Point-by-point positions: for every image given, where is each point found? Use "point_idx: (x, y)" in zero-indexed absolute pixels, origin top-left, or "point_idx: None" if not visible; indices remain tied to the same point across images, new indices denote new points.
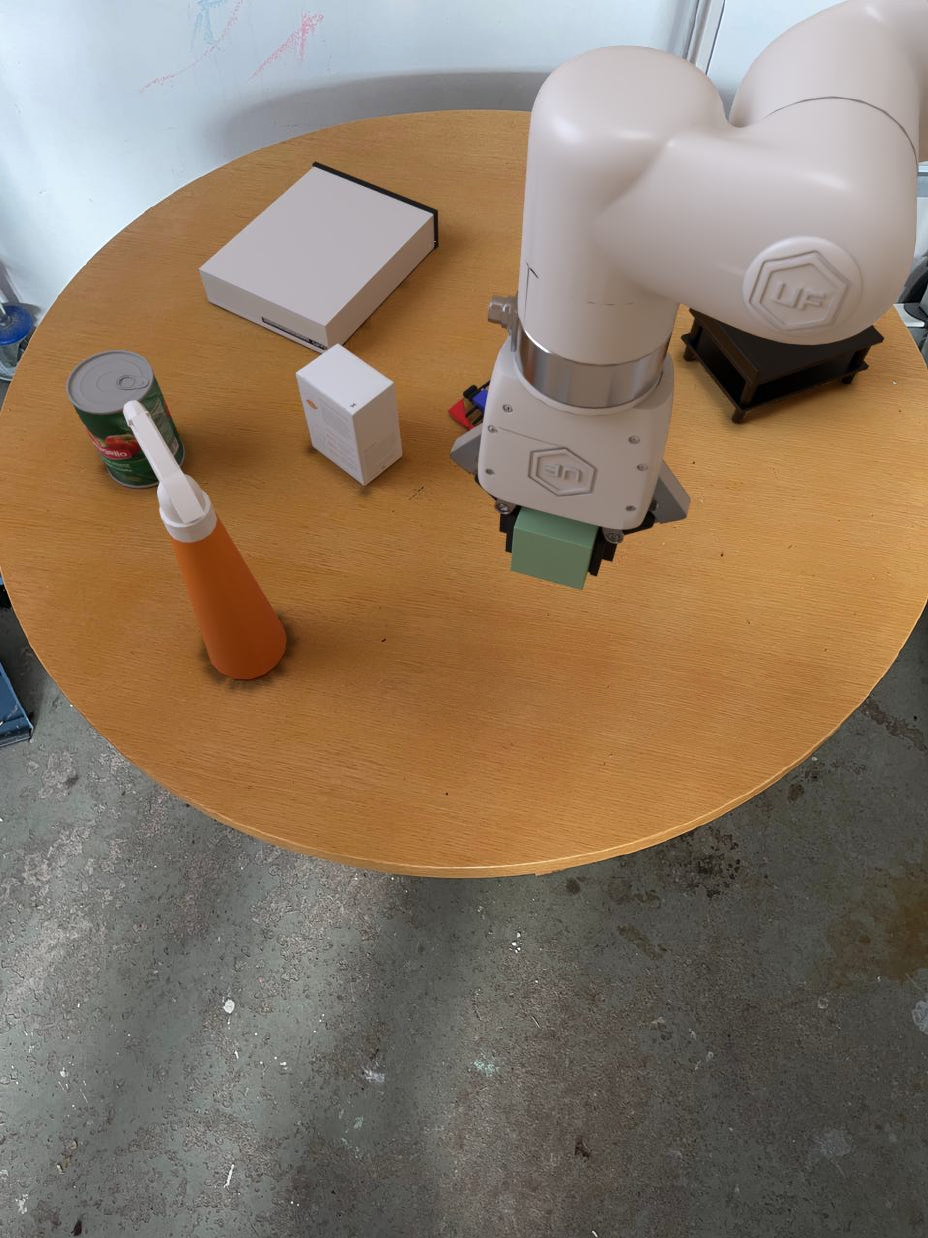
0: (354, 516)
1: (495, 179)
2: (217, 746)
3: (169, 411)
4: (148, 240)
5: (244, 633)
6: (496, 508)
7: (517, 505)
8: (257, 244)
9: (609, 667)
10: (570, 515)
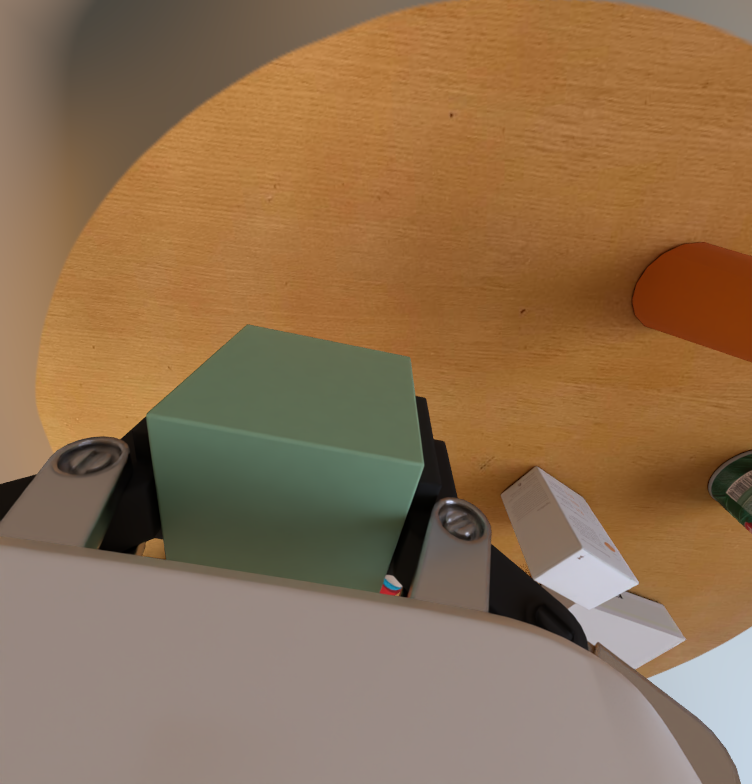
0: (547, 437)
1: None
2: (738, 144)
3: (749, 527)
4: (704, 642)
5: (743, 274)
6: (479, 515)
7: (415, 529)
8: (628, 656)
9: (288, 306)
10: (113, 595)
